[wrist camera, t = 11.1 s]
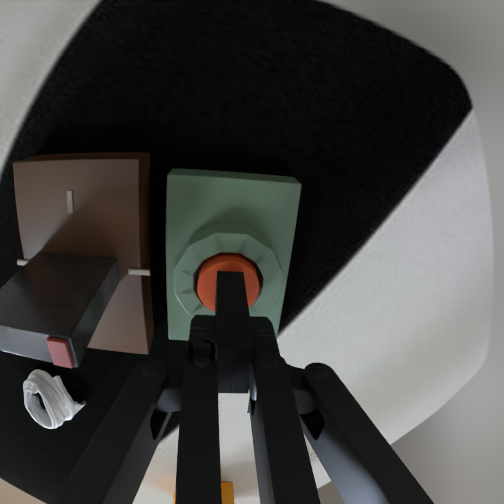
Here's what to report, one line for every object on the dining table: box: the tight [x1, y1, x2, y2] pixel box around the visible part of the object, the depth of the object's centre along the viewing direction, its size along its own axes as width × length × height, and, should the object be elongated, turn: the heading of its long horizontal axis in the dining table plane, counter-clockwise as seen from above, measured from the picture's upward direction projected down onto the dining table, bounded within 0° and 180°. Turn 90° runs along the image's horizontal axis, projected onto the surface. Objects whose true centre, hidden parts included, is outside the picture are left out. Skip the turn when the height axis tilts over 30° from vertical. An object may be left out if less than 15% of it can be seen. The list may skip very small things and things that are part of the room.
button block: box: [166, 169, 301, 340], centre depth 21 cm, size 12×8×4 cm, turn 174°
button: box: [197, 252, 259, 312], centre depth 20 cm, size 4×4×2 cm
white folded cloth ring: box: [23, 369, 86, 429], centre depth 26 cm, size 8×7×5 cm
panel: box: [13, 152, 154, 354], centre depth 20 cm, size 14×10×3 cm
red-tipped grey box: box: [0, 252, 119, 368], centre depth 15 cm, size 6×2×8 cm, turn 84°
